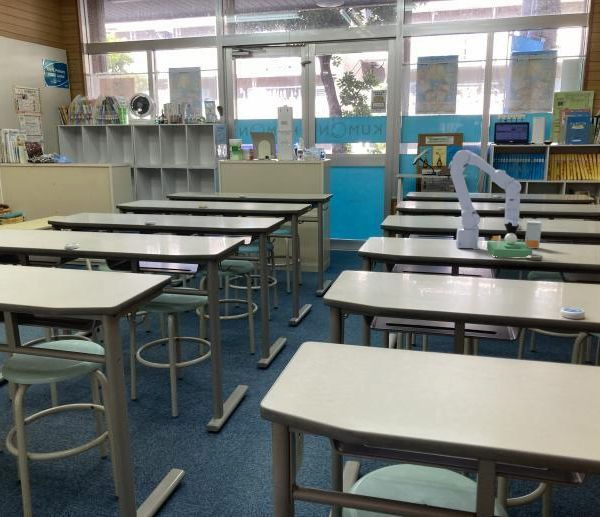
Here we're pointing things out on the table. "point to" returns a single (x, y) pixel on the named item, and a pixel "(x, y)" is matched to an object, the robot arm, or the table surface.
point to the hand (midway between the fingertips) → (510, 239)
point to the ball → (510, 238)
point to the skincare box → (533, 234)
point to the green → (507, 248)
